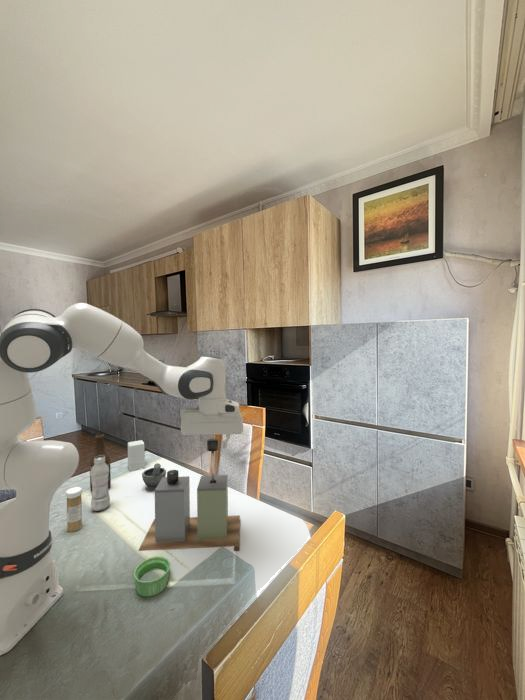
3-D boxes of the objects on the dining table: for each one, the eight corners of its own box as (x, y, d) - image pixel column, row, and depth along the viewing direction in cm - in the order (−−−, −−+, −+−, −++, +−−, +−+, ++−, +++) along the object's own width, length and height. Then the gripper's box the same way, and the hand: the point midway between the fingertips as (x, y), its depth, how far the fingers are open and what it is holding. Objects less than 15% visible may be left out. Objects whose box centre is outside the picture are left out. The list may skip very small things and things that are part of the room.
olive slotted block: (226, 538, 93) (226, 487, 93) (197, 540, 93) (197, 488, 92) (227, 521, 102) (227, 475, 102) (201, 522, 102) (201, 475, 101)
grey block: (184, 540, 93) (184, 489, 92) (155, 542, 92) (154, 490, 92) (189, 523, 102) (189, 476, 101) (163, 524, 101) (162, 477, 101)
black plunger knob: (223, 503, 94) (223, 443, 93) (200, 504, 93) (199, 444, 93) (225, 491, 101) (224, 436, 101) (203, 492, 101) (202, 436, 100)
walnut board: (239, 550, 90) (239, 545, 90) (138, 555, 88) (138, 550, 88) (239, 519, 106) (239, 515, 106) (154, 523, 104) (154, 518, 104)
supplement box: (145, 468, 150) (144, 443, 150) (129, 471, 147) (128, 446, 146) (143, 463, 157) (142, 439, 156) (127, 466, 153) (127, 442, 153)
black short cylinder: (182, 536, 93) (181, 476, 93) (158, 537, 93) (157, 477, 92) (187, 522, 101) (186, 467, 100) (164, 523, 100) (164, 467, 100)
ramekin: (134, 576, 80) (134, 561, 80) (169, 568, 84) (169, 552, 84) (132, 604, 72) (132, 586, 72) (171, 592, 75) (171, 575, 75)
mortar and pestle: (140, 486, 132) (140, 459, 131) (161, 480, 137) (161, 454, 137) (147, 496, 122) (146, 467, 122) (169, 490, 128) (169, 462, 128)
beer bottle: (91, 487, 130) (90, 433, 130) (111, 484, 133) (110, 431, 133) (89, 496, 123) (88, 438, 123) (110, 492, 126) (109, 436, 126)
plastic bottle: (113, 504, 117) (112, 453, 116) (102, 514, 110) (101, 460, 110) (98, 503, 117) (97, 453, 117) (86, 513, 111) (85, 460, 110)
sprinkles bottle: (69, 525, 103) (69, 487, 103) (84, 523, 104) (83, 485, 104) (64, 533, 99) (63, 493, 99) (79, 531, 100) (79, 492, 100)
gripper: (177, 408, 93) (178, 451, 93) (243, 406, 94) (243, 450, 94) (182, 404, 99) (182, 445, 99) (243, 402, 100) (243, 443, 101)
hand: (212, 447), depth 97 cm, fingers open, 6 cm apart
